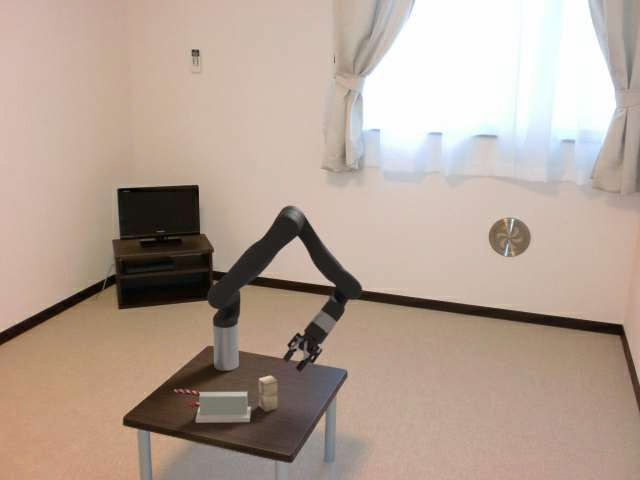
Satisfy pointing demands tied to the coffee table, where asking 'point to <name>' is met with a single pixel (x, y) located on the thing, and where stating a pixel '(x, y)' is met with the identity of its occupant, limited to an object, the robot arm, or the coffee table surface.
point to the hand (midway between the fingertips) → (291, 365)
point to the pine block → (268, 393)
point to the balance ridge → (223, 407)
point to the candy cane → (190, 393)
